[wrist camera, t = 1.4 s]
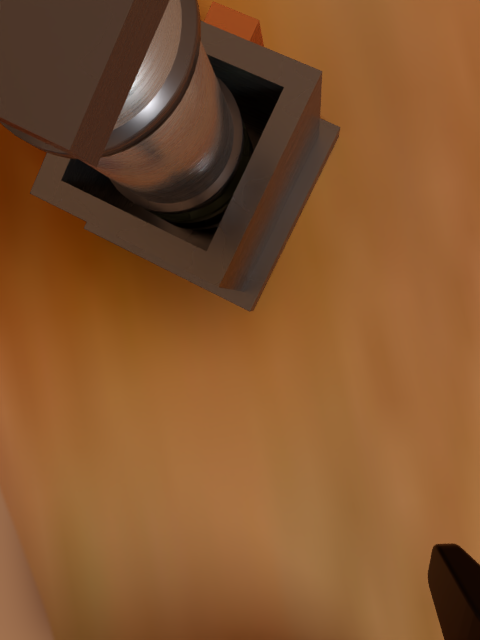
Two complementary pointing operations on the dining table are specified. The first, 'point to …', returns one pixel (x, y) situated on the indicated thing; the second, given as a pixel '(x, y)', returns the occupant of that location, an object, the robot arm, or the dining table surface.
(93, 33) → the column
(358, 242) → the dining table surface
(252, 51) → the stand
